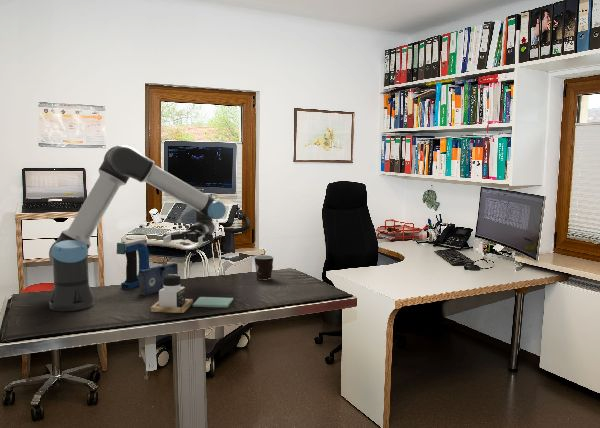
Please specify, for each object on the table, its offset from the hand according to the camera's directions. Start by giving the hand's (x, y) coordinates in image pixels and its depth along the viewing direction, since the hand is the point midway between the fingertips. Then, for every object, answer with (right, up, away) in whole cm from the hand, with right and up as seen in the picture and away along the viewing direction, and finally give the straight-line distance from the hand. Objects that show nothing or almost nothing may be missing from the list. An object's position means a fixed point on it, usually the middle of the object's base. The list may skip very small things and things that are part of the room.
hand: (181, 241), depth 191 cm
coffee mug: (+29, -20, +37) cm, 51 cm away
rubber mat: (+12, -23, -1) cm, 26 cm away
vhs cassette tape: (-13, -22, +17) cm, 30 cm away
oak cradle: (-2, -24, -7) cm, 25 cm away
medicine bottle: (-2, -24, -7) cm, 25 cm away
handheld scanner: (-26, -21, +23) cm, 40 cm away
